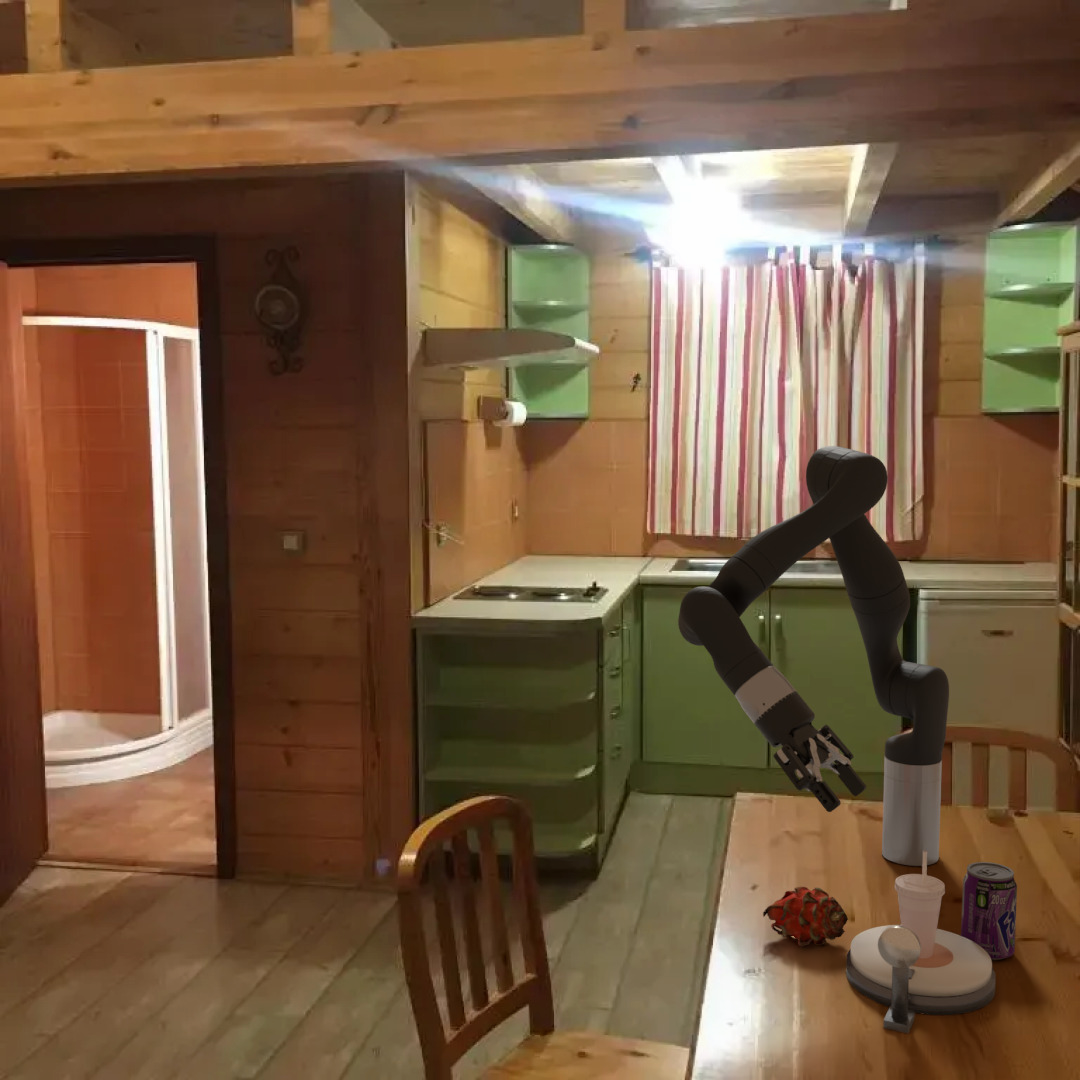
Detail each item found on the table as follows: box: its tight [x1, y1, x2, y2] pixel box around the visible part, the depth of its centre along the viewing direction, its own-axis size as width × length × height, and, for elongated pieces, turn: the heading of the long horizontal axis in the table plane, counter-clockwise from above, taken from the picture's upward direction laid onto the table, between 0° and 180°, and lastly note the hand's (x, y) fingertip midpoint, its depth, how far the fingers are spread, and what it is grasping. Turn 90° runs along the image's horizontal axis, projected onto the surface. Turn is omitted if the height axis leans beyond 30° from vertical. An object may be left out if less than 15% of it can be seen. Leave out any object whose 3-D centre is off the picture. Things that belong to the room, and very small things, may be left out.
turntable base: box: [845, 948, 996, 1016], centre depth 165 cm, size 19×19×2 cm
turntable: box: [850, 924, 993, 997], centre depth 165 cm, size 18×18×2 cm
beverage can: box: [960, 861, 1018, 961], centre depth 172 cm, size 7×7×12 cm
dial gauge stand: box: [878, 924, 921, 1034], centre depth 153 cm, size 5×5×13 cm
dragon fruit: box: [762, 886, 849, 947], centre depth 177 cm, size 8×8×12 cm
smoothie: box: [894, 851, 946, 959], centre depth 164 cm, size 6×6×14 cm
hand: (848, 800), depth 169 cm, fingers open, 8 cm apart
